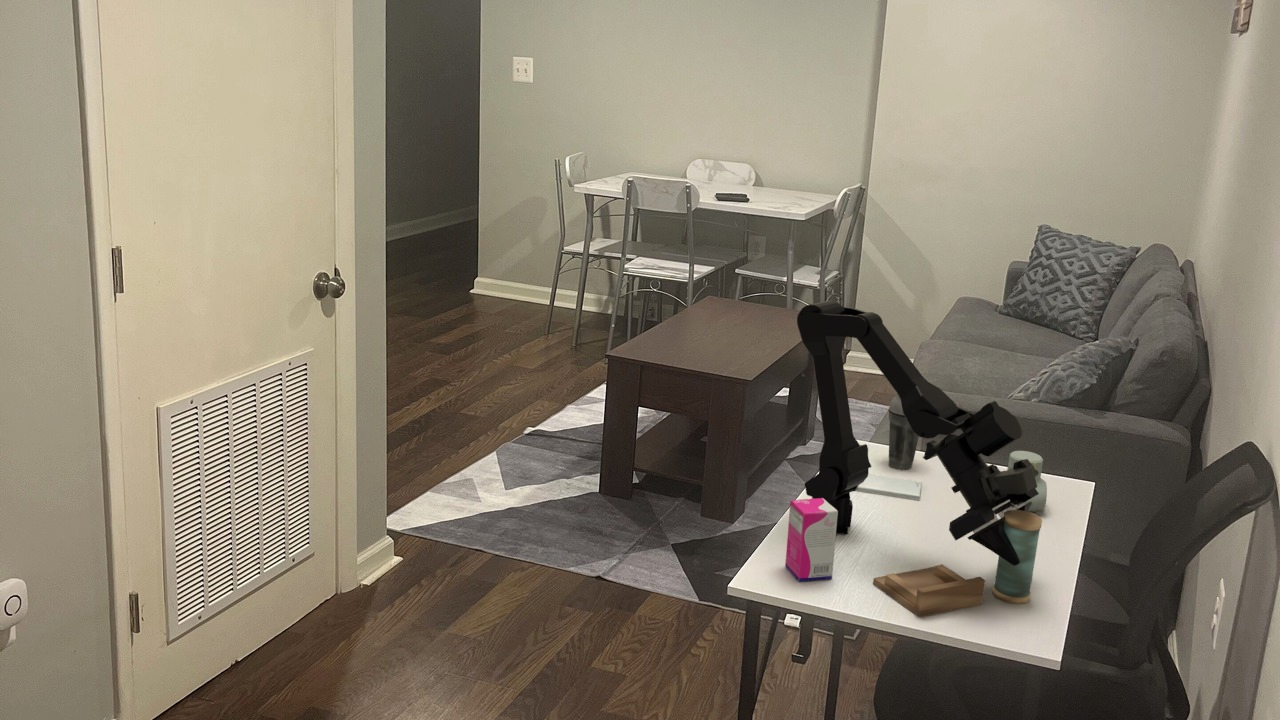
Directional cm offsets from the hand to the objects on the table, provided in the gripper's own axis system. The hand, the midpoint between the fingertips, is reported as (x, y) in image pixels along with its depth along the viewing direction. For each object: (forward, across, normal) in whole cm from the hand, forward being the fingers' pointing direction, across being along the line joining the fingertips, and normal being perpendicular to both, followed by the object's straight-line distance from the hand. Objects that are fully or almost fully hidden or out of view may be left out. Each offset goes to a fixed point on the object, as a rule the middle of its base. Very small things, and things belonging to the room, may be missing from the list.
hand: (1025, 559), depth 168 cm
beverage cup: (-25, +36, +35) cm, 57 cm away
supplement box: (-14, -18, +24) cm, 33 cm away
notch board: (-3, -10, +12) cm, 16 cm away
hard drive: (-22, +24, +32) cm, 46 cm away
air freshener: (-7, +36, +17) cm, 40 cm away
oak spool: (+4, 0, +6) cm, 7 cm away
